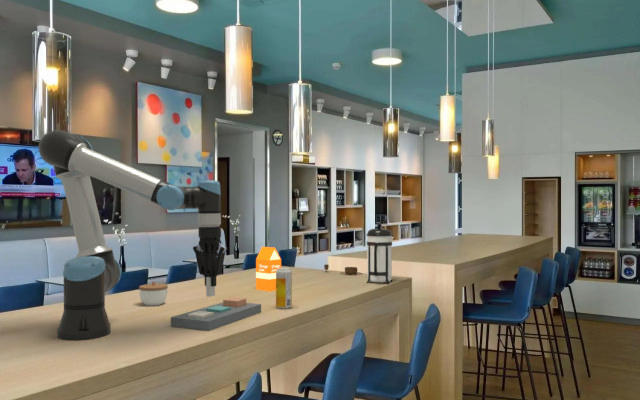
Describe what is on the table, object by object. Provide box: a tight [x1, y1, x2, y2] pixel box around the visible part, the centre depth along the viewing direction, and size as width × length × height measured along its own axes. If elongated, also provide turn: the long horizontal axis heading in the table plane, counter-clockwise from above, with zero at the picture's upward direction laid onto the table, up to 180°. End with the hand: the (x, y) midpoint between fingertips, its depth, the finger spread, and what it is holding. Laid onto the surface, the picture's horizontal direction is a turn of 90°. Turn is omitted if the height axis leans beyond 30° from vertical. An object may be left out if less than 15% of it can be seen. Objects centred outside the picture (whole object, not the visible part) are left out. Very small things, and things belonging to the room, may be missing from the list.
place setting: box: [323, 264, 363, 276], centre depth 306 cm, size 18×20×6 cm
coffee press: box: [366, 223, 393, 285], centre depth 270 cm, size 17×16×30 cm
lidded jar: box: [138, 281, 169, 307], centre depth 214 cm, size 11×11×9 cm
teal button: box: [206, 306, 231, 313], centre depth 189 cm, size 6×6×3 cm
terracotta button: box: [222, 296, 247, 308], centre depth 198 cm, size 6×6×3 cm
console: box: [170, 301, 262, 332], centre depth 189 cm, size 32×15×3 cm, turn 155°
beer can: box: [275, 267, 293, 310], centre depth 209 cm, size 6×6×15 cm
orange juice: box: [255, 246, 282, 292], centre depth 250 cm, size 8×9×20 cm
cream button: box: [188, 311, 214, 318], centre depth 180 cm, size 6×6×3 cm
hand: (210, 295), depth 184 cm, fingers closed
